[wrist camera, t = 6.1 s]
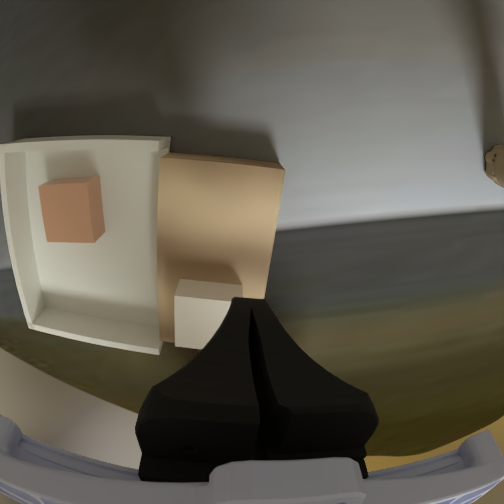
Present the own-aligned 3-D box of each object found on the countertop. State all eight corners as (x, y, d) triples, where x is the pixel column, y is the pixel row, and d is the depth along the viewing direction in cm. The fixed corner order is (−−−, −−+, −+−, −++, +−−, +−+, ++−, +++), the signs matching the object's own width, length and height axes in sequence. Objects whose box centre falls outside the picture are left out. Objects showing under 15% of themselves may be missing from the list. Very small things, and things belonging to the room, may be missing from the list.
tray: (166, 330, 24) (159, 355, 22) (44, 308, 23) (29, 328, 21) (170, 136, 18) (158, 140, 15) (23, 138, 17) (-2, 144, 14)
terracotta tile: (47, 242, 18) (60, 231, 20) (94, 243, 18) (105, 231, 20) (38, 186, 17) (53, 179, 18) (87, 182, 17) (99, 175, 19)
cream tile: (236, 333, 22) (235, 352, 20) (179, 327, 21) (175, 346, 19) (242, 285, 20) (242, 302, 18) (179, 278, 20) (174, 295, 18)
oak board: (253, 329, 25) (254, 350, 22) (166, 320, 24) (160, 340, 22) (279, 163, 19) (285, 169, 17) (169, 152, 19) (160, 157, 16)
